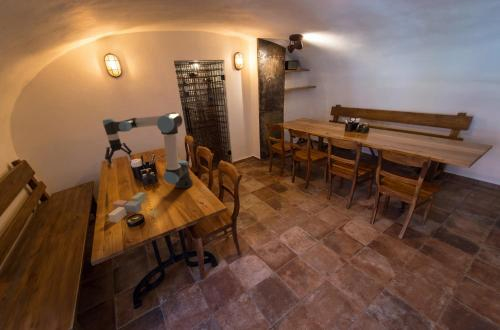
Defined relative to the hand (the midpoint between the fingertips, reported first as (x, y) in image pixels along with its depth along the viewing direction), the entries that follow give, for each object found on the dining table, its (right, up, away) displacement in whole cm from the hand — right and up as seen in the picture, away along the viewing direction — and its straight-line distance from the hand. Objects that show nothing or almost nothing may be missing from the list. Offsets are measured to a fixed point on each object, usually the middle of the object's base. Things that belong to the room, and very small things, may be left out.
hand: (121, 164), depth 169 cm
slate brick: (+21, -34, -19) cm, 44 cm away
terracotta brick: (+11, -33, -16) cm, 39 cm away
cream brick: (+15, -38, -27) cm, 49 cm away
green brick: (+20, -30, -8) cm, 36 cm away
